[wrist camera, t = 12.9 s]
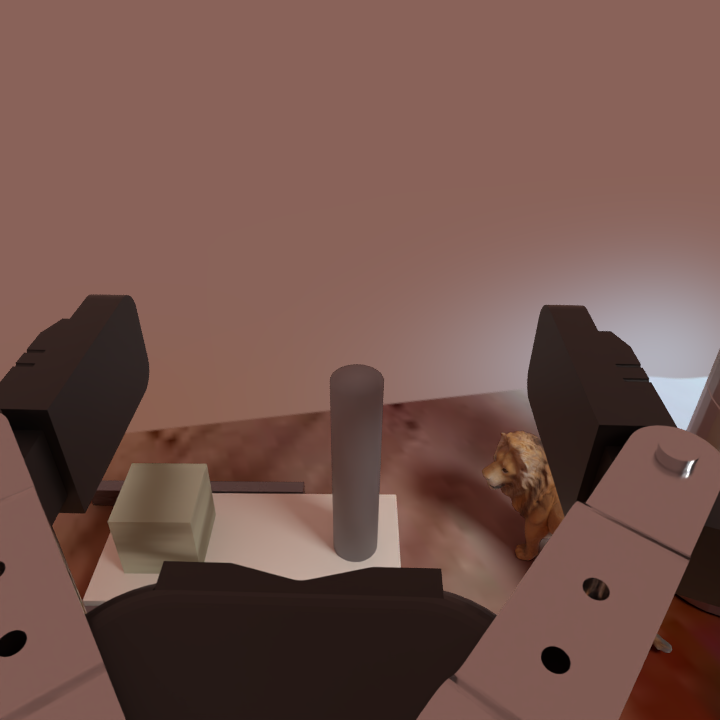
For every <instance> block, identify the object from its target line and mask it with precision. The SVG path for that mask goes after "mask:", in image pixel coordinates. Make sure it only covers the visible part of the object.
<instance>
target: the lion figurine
mask: <svg viewBox="0 0 720 720" xmlns="http://www.w3.org/2000/svg"><path fill="white" fill-rule="evenodd" d="M493 458H494V462H493V463H491V464H490V465H488V466H487V467H485V468H484V469H483V470H482V473H483V476H484V477H485V478H486V480H487V484H488V486H489V488H491V489H493V490H496V489H498V488H501V490H502V492H503V493H504V494H505V495H507V496H509V497H510V498H511V500H512V506H513V507H514V508H515V510H516V511H518V512H519V513H520V515H521V516H522V517H524V518H525V538H526V544H521V545H517V547H516V550H515V553H516V556H517V558H519V559H522V560H531V559H533V558H534V557H535V556H537V555H538V553H539V544H540V541H541V540H542V538H543V539H546V538H550V537H551V536H552V535H553V533H554V532H555V530H556V529H557V528H558V526H559V525H560V523H561V522H562V520H563V519H564V514H563V510H562V507H561V504H560V501H559V497H558V494H557V491H556V487H555V484H554V481H553V478H552V474H551V471H550V468H549V465H548V461H547V458H546V455H545V451H544V448H543V445H542V442H541V439H539V438H538V437H536V436H535V435H533V434H531V433H525V432H524V431H516V432H513V433H512V432H510V433H508V434H506V433H501V440H500V442H499V443H498V446H497V450H496V452H495V454H494V456H493ZM653 644H654V646H655V647H656V648H657V649H658V650H661V651H663V652H665V653H670V652H671V651H672V647H671V645H670V644H669V643H668V642H666V641H665V640H664V639H662V638H661V636H660V635H658V634H656V637H655V639H654V641H653Z"/></svg>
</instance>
